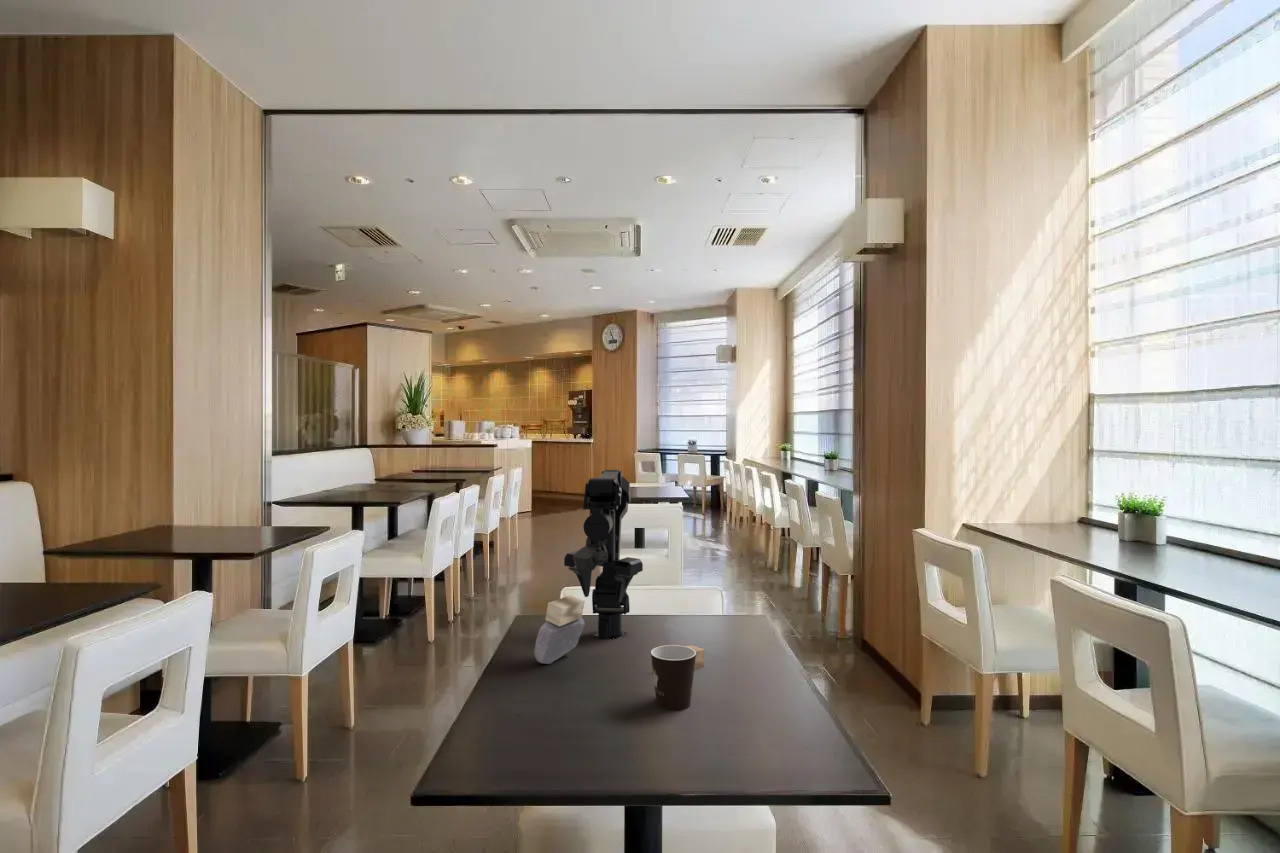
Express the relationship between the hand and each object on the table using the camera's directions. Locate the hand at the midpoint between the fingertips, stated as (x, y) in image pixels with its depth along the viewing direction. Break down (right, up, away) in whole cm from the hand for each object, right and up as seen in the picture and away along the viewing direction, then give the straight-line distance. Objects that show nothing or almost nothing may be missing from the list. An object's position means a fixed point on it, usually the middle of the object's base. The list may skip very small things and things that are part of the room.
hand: (602, 599), depth 159 cm
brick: (+19, -13, -9) cm, 24 cm away
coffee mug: (+15, -13, -26) cm, 33 cm away
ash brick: (-8, -3, -5) cm, 10 cm away
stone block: (-10, -13, -4) cm, 17 cm away
